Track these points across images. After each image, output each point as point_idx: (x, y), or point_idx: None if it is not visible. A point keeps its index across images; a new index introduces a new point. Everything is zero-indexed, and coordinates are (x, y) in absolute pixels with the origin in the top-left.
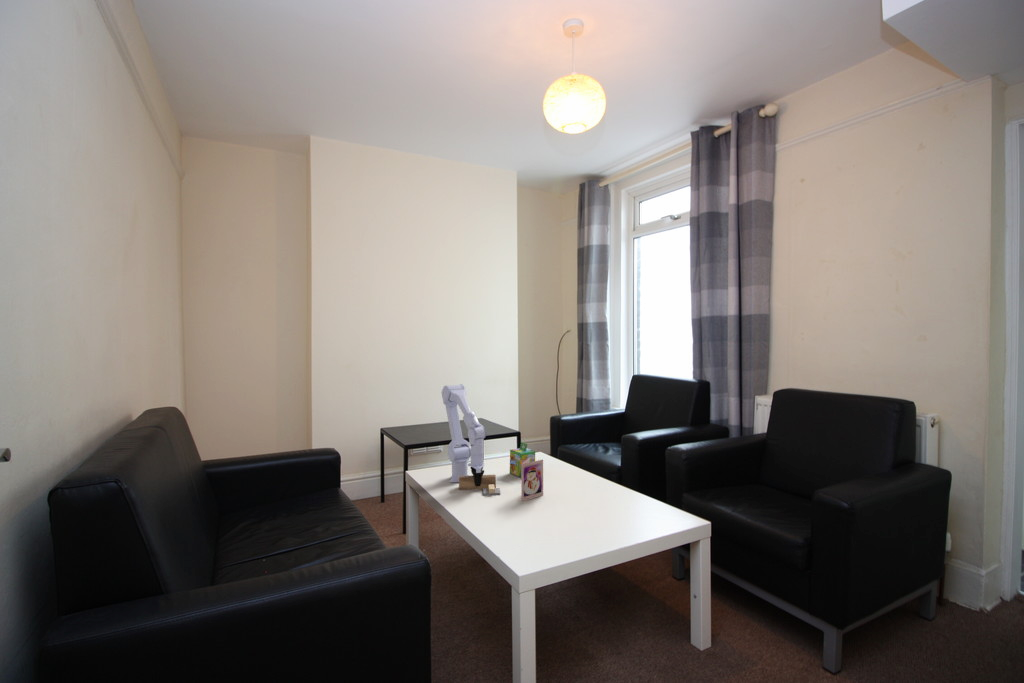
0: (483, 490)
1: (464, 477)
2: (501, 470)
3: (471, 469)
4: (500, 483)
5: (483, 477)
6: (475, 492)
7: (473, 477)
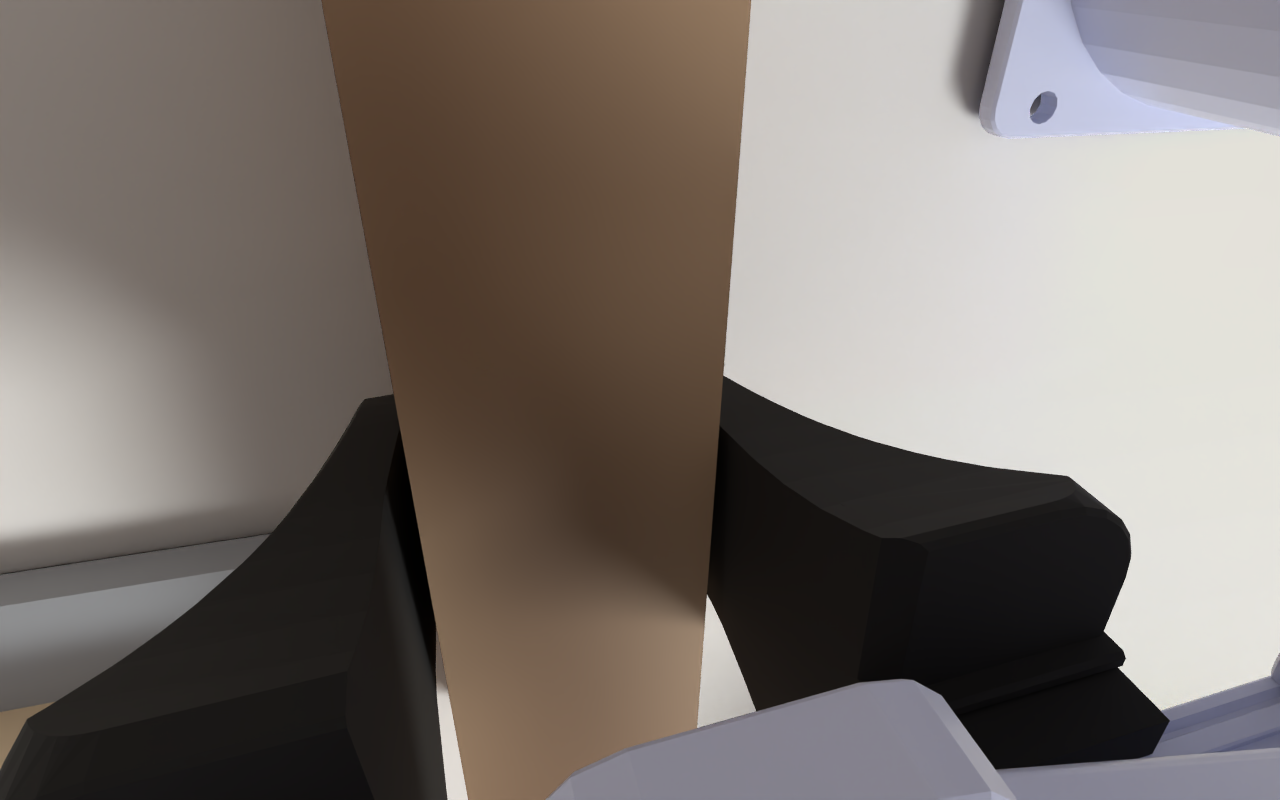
0: (141, 584)
1: (468, 100)
2: (1272, 611)
3: (850, 533)
4: (722, 707)
5: (460, 741)
6: (115, 375)
7: (458, 483)
